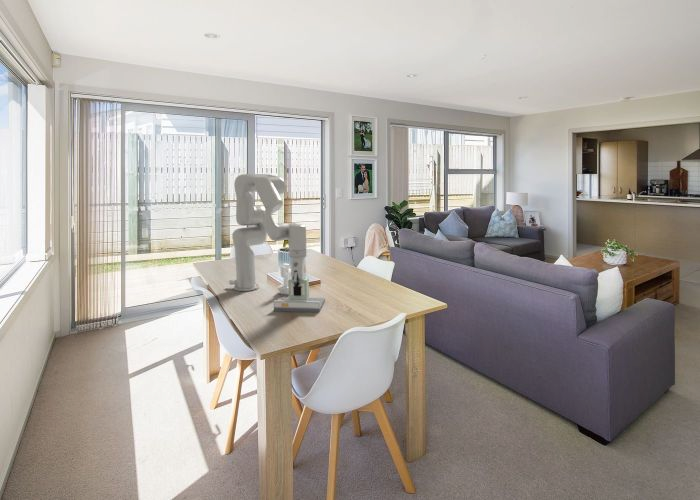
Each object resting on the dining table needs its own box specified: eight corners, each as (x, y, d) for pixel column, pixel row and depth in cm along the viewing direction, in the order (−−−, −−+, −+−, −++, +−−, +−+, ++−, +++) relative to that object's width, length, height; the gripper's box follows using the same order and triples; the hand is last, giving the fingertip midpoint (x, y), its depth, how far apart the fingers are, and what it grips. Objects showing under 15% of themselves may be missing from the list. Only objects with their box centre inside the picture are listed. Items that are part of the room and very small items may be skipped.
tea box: (309, 297, 186) (308, 277, 184) (306, 300, 181) (306, 280, 179) (291, 296, 186) (290, 277, 185) (288, 300, 181) (288, 280, 180)
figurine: (296, 291, 211) (296, 262, 209) (290, 296, 202) (289, 266, 200) (283, 290, 213) (282, 261, 210) (276, 295, 204) (275, 265, 201)
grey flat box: (273, 311, 180) (273, 301, 179) (282, 300, 196) (282, 290, 195) (319, 312, 178) (319, 302, 177) (324, 301, 194) (324, 291, 193)
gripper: (302, 256, 171) (303, 299, 174) (309, 249, 188) (310, 288, 191) (284, 256, 172) (285, 299, 175) (293, 249, 189) (294, 288, 192)
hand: (298, 293), depth 183 cm, fingers closed on tea box, 5 cm apart
